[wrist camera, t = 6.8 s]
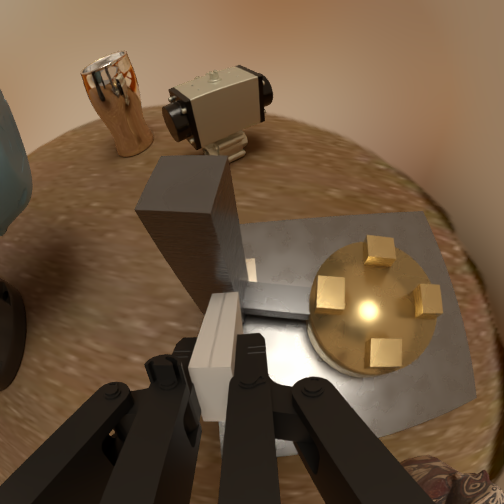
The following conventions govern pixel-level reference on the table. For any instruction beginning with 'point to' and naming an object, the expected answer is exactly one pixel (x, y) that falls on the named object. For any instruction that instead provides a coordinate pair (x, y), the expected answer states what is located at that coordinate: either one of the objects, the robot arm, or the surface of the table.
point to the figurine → (452, 483)
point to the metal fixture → (286, 296)
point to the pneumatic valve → (218, 110)
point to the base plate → (298, 342)
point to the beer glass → (118, 102)
